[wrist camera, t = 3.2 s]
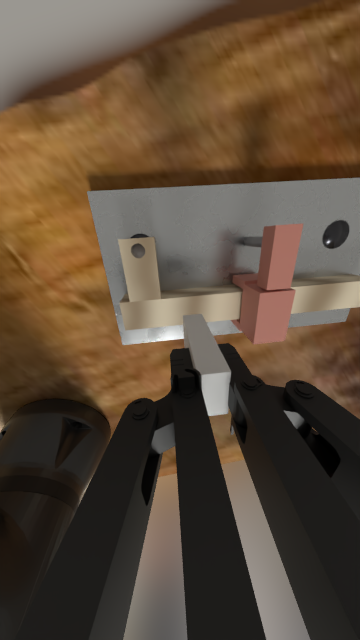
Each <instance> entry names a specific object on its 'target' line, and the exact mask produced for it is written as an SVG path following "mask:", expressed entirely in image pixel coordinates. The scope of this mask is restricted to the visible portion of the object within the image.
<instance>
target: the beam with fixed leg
mask: <svg viewBox="0 0 360 640" xmlns="http://www.w3.org/2000/svg"><path fill="white" fill-rule="evenodd" d="M118 242H119V247H120V253H121V258H122V263H123V269H124V274H125V279H126V284H127V290H128V294H125V295H124V296H123V298H122V299H121V301H120V303H119V304H120V308H121V313H122V318H123V322H124V327H125V330H135V329H145V328H155V327H165V326H175V325H183V315H194V314H202V315H203V317H204V319H205V321H206V322H215V321H225V320H234V319H240V317H241V305H242V294H243V289H242V288H240V287H239V286H237V285H236V284H234V285H222V286H211V287H199V288H188V289H177V290H165V291H161V289H160V280H159V271H158V262H157V253H156V244H155V237H147V238H132V239H118ZM291 288H292V289H294V290H296V292H295V296H294V301H293V306H292V310H291V314H294V313H304V312H314V311H324V310H334V309H344V308H354V307H360V276H358V275H353V274H348V275H336V276H325V277H313V278H302V279H292V283H291Z"/></svg>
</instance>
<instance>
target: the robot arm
mask: <svg viewBox="0 0 360 640" xmlns="http://www.w3.org/2000/svg"><path fill="white" fill-rule="evenodd" d="M183 330H184V346H185V348H182V349H173V350H172V352H171V354H170V361H171V391H170V392H169V393H168V395H166V396H165V397H164V398H162V399H160V400H158V401H155V402H153V401H152V400H151V399H147V398H140V399H137V400H135V401H133V402H132V403H130V404H129V405H128V406H127V408H126V409H125V411H124V413H123V415H122V417H121V419H120V421H119V423H118V425H117V427H116V429H115V431H114V434H113V436H112V438H111V440H110V435H111V431H110V427H109V424H108V422H107V421H106V419H105V418H104V417H103V416H102V415H101V414H100V413H98V412H97V411H96V410H94V409H92V408H90V407H88V406H86V405H84V404H81V403H78V402H74V401H69V400H61V399H49V400H41V401H36V402H33V403H30V404H27V405H25V406H23V407H22V408H20V409H19V410H18V411H16V412H15V414H14V415H13V416H12V417H11V418H10V420H9V421H8V422H7V423H6V424H5V426H4V427H3V429H2V430H1V432H0V640H123V637H124V632H125V628H126V623H127V618H128V614H129V609H130V604H131V599H132V595H133V590H134V586H135V580H136V576H137V571H138V567H139V562H140V558H141V553H142V548H143V543H144V539H145V534H146V530H147V525H148V520H149V516H150V511H151V506H152V502H153V497H154V492H155V488H156V482H157V478H158V474H159V469H160V464H161V460H162V455H163V452H164V451H166V450H168V449H170V448H172V447H174V446H175V448H176V464H177V479H178V494H179V510H180V526H181V542H182V557H183V574H184V590H185V605H186V620H187V621H186V622H187V637H188V640H266V637H265V633H264V629H263V626H262V622H261V618H260V614H259V610H258V606H257V603H256V598H255V595H254V591H253V587H252V583H251V579H250V575H249V572H248V567H247V564H246V560H245V556H244V552H243V548H242V544H241V540H240V537H239V532H238V529H237V525H236V521H235V517H234V514H233V509H232V505H231V501H230V498H229V494H228V490H227V486H226V482H225V478H224V474H223V470H222V467H221V463H220V459H219V455H218V451H217V447H216V443H215V439H214V436H213V432H212V428H211V424H210V420H209V416H213V415H221V414H228V407H229V409H230V411H231V414H232V417H231V428H230V431H231V435H232V434H233V432H234V431H235V434H236V437H237V440H238V442H239V445H240V448H241V451H242V453H243V456H244V459H245V461H246V464H247V467H248V469H249V472H250V475H251V478H252V481H253V483H254V486H255V489H256V492H257V494H258V497H259V500H260V502H261V505H262V508H263V511H264V514H265V516H266V519H267V522H268V524H269V527H270V530H271V533H272V535H273V538H274V541H275V544H276V546H277V549H278V552H279V554H280V557H281V560H282V563H283V565H284V568H285V571H286V574H287V576H288V579H289V582H290V585H291V587H292V590H293V593H294V596H295V598H296V601H297V604H298V607H299V609H300V612H301V615H302V618H303V620H304V623H305V626H306V629H307V631H308V634H309V637H310V639H311V640H360V419H358V418H357V417H356V416H354V415H353V414H351V413H350V412H349V411H347V410H346V409H345V408H343V407H342V406H341V405H339V404H338V403H336V402H335V401H334V400H332V399H331V398H330V397H328V396H327V395H326V394H324V393H323V392H321V391H320V390H319V389H317V388H316V387H314V386H313V385H311V384H309V383H307V382H304V381H300V380H291V381H289V382H287V383H286V386H285V388H284V387H277V386H270V385H266V384H265V383H264V382H263V381H262V380H261V379H260V378H258V377H257V376H254V375H252V374H251V372H250V371H249V369H248V368H247V366H246V365H245V363H244V362H243V360H242V358H241V357H240V355H239V354H238V352H237V351H236V349H235V348H234V347H233V346H232V345H230V344H229V343H226V344H217V343H216V341H215V339H214V337H213V335H212V333H211V331H210V329H209V327H208V325H207V323H206V321H205V319H204V317H203V315H202V314H194V315H183ZM312 427H313V428H314V429H315V430H316V431H317V432H316V431H315V430H313V429H312ZM109 440H110V442H109ZM92 476H93V477H92ZM91 478H92V479H91ZM90 480H91V481H90ZM89 482H90V483H89ZM88 483H89V485H88ZM87 485H88V488H87V490H86V492H85V494H84V496H83V498H82V500H81V502H80V499H81V496H82V494H83V492H84V490H85V489H86V487H87ZM79 502H80V504H79ZM78 505H79V506H78Z"/></svg>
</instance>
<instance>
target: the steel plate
mask: <svg viewBox="0 0 360 640" xmlns="http://www.w3.org/2000/svg"><path fill="white" fill-rule="evenodd" d="M87 194H88V198H89V202H90V207H91V211H92V215H93V220H94V224H95V228H96V233H97V237H98V241H99V245H100V250H101V254H102V258H103V263H104V267H105V271H106V276H107V280H108V284H109V288H110V293H111V297H112V301H113V306H114V310H115V314H116V319H117V323H118V327H119V331H120V336H121V340H122V344H123V345H128V344H137V343H147V342H156V341H165V340H175V339H184V330H183V325H175V326H165V327H155V328H145V329H135V330H125V327H124V322H123V318H122V313H121V308H120V304H119V303H120V301H121V299H122V298H123V296H124V295H125V294H128V290H127V284H126V279H125V274H124V269H123V263H122V258H121V253H120V247H119V242H118V239H132V238H147V237H155V244H156V253H157V262H158V271H159V280H160V289H161V291H165V290H177V289H188V288H199V287H211V286H222V285H234V283H232V282H233V275H242V274H254V273H258V271H259V263H260V254H261V247H251V246H246V245H245V244H244V240H245V238H246V237H263V230H264V226H274V225H288V224H303V223H304V224H303V229H302V234H301V239H300V244H299V249H298V253H297V258H296V263H295V268H294V273H293V278H292V279H302V278H313V277H325V276H336V275H348V274H353V275H358V276H360V178H342V179H322V180H303V181H283V182H263V183H243V184H223V185H203V186H183V187H164V188H144V189H124V190H104V191H87ZM349 310H350V308H344V309H334V310H324V311H314V312H304V313H294V314H291V315H290V320H289V324H288V327H298V326H307V325H317V324H326V323H336V322H345V321H346V319H347V316H348V313H349ZM206 323H207V325H208V327H209V329H210V331H211V333H212V335H222V334H232V333H241V332H242V331H239V330H238V329H237V327H236V326H235V325H234V324H233V323H232V322H231V320H225V321H215V322H206Z"/></svg>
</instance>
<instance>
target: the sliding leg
mask: <svg viewBox="0 0 360 640" xmlns="http://www.w3.org/2000/svg"><path fill="white" fill-rule="evenodd" d="M303 224H304V223H303ZM303 224H288V225H274V226H264V230H263V237H246V238H245V240H244V244H245V245H246V246H251V247H261V254H260V263H259V271H258V273H254V274H242V275H233V282H232V283H234V284H236V285H237V286H239V287H240V288H242V289H243V294H242V305H241V317H240V319H234V320H231V322H232V323H233V324H234V325H235V326H236V327H237V329H238V330H239V331H242V332H243V333H244V334H245V335H246V336H247V337H248V339H249V340H250V341H251V342H252V343H253V344H260V343H269V342H278V341H285V338H286V333H287V329H288V324H289V320H290V315H291V310H292V306H293V301H294V296H295V292H296V290H294V289H292V288H291V283H292V278H293V273H294V268H295V263H296V258H297V253H298V249H299V244H300V239H301V234H302V229H303Z"/></svg>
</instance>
